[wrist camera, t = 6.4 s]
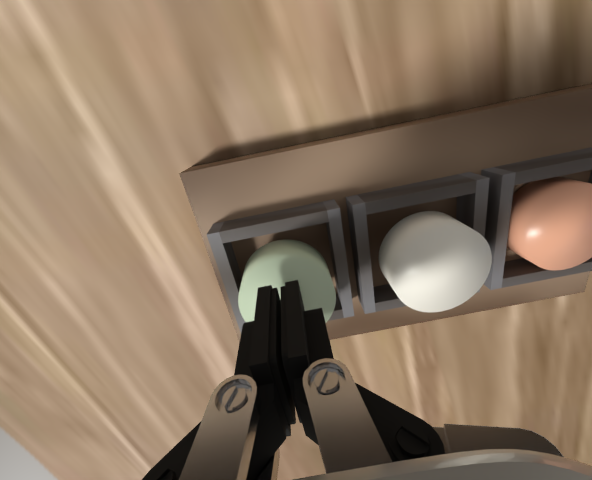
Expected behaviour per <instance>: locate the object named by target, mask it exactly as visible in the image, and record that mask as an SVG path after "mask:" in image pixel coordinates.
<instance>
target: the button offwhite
mask: <svg viewBox="0 0 592 480" xmlns="http://www.w3.org/2000/svg"><path fill="white" fill-rule="evenodd" d="M491 264H492V254H491V250H490V246H489V244H488V242H487V241H486V240H485V238H484V237H483V236H482V235H481V234H480V233H478V232H477V231H475V230H473V229H472V228H470V227H468V226H466V225H465V224H463V223H461V222H460V221H458V220H456V219H454V218H453V217H451V216H449V215H447V214H445V213H442V212H438V211H423V212H418V213H415V214H412V215H409V216H407V217H405V218H404V219H402V220H401V221H399V222H398V223H397V224H395V225H394V226H393V227H392V228H391V229H390V230H389V232H388V233H387V234H386V236H385V237H384V239H383V241H382V244H381V246H380V250H379V266H380V269H381V271H382V273H383V275H384V276H385V278H386V279H387V281H388V282H389V284H390V285H391V287H392V289H393V290H394V292H395V293H396V295H397V296H398V297H399V299H400V300H401V301H402V302H403V303H404V304H405V305H407V306H408V307H410V308H412V309H414V310H417V311H421V312H429V313H430V312H441V311H445V310H449V309H452V308H454V307H457V306H459V305H461V304H462V303H464V302H466V301H467V300H468V299H470V298H471V297H472V296H473V295H474V294H475V293H476V292H477V291H478V290H479V289H480V288H481V287H482V285H483V284H484V282H485V281H486V279H487V277H488V275H489V272H490V269H491Z"/></svg>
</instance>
